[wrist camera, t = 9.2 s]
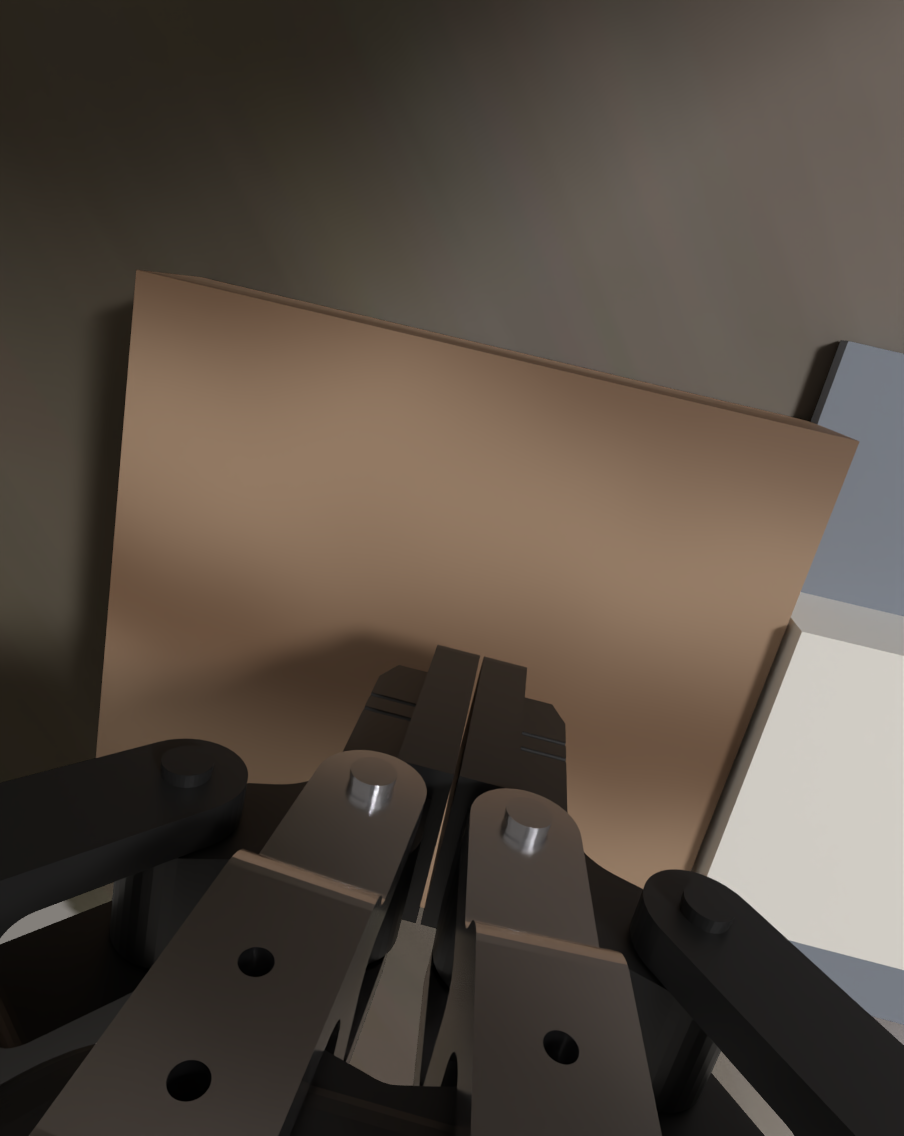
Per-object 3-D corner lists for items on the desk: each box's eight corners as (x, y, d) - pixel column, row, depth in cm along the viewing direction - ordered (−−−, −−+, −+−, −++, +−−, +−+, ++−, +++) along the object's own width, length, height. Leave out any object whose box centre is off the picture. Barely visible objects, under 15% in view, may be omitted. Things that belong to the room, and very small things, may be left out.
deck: (200, 276, 15) (136, 269, 13) (810, 421, 15) (859, 441, 12) (148, 754, 19) (91, 816, 16) (638, 886, 18) (651, 969, 16)
